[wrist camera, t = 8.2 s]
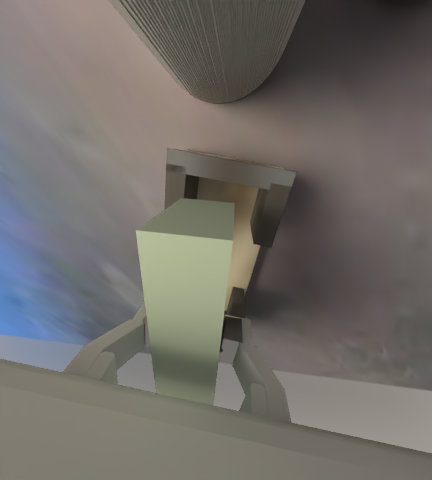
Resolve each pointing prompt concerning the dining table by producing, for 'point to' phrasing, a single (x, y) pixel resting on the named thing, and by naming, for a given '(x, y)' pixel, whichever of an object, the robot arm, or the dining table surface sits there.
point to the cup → (214, 41)
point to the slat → (186, 293)
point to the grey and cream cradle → (245, 211)
